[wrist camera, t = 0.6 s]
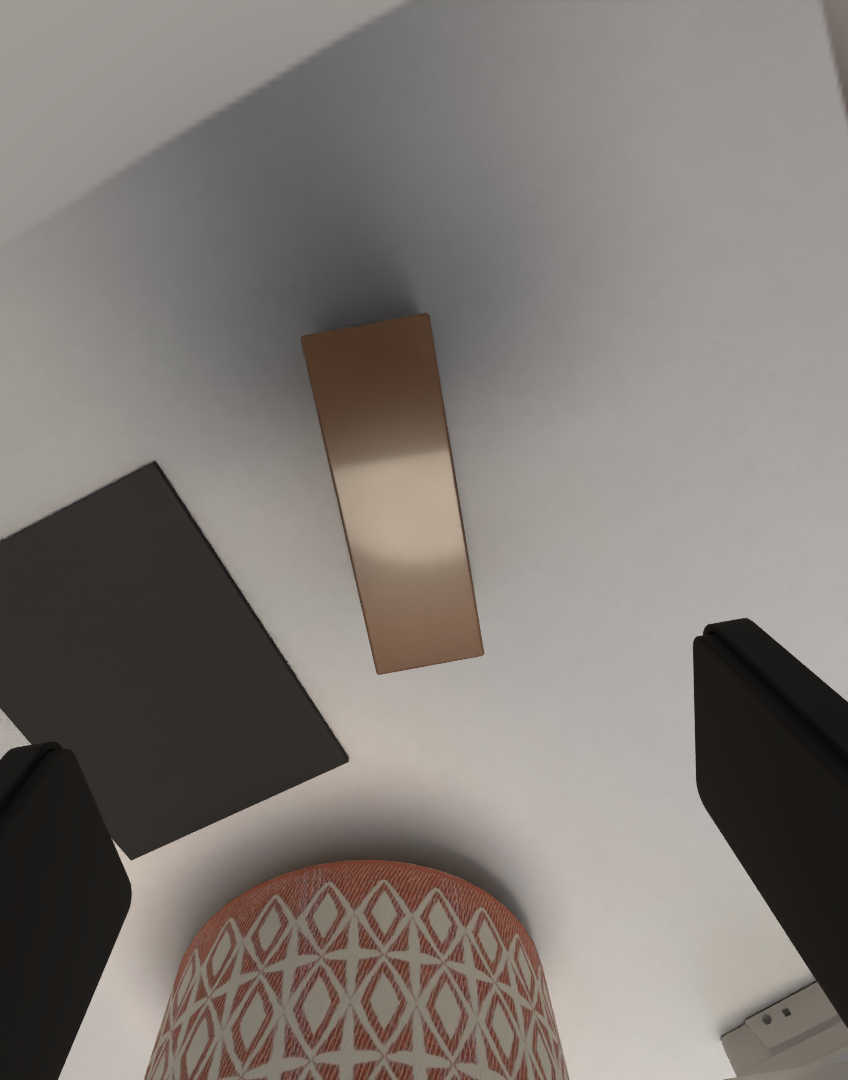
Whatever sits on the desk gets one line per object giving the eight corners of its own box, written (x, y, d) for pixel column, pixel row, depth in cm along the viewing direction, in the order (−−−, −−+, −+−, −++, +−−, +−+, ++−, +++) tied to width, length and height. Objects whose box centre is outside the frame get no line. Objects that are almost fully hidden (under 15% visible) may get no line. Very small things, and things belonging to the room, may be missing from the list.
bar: (316, 332, 24) (299, 336, 20) (420, 313, 24) (429, 312, 20) (378, 616, 28) (376, 676, 24) (468, 599, 28) (484, 656, 24)
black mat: (-93, 590, 27) (-99, 593, 26) (155, 461, 26) (153, 462, 25) (133, 855, 32) (130, 860, 31) (349, 758, 31) (348, 762, 30)
